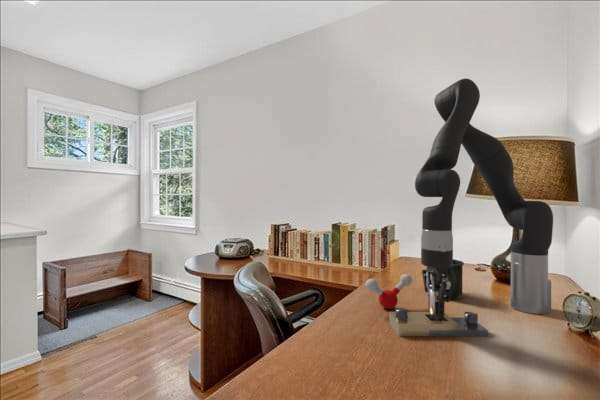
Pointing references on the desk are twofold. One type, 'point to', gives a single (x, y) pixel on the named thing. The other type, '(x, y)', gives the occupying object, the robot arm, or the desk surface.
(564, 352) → the desk surface
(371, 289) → the molecular model
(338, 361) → the desk surface
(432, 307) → the pin
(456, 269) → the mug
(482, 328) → the two-tone base plate
